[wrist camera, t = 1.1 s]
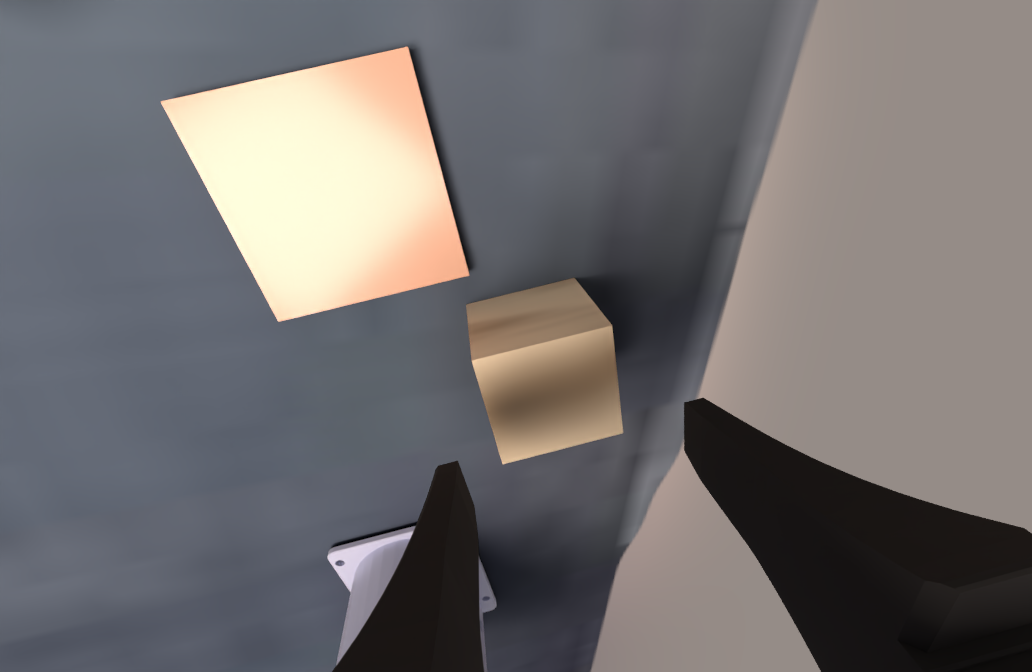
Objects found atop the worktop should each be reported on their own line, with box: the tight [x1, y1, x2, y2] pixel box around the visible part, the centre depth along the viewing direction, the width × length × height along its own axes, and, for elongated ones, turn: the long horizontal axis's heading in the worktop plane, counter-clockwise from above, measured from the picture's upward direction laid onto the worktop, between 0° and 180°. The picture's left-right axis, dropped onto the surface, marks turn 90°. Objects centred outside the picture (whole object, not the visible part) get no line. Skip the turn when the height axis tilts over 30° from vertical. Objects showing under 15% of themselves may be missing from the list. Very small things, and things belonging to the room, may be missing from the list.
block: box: [466, 278, 623, 464], centre depth 18 cm, size 5×5×5 cm
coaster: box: [161, 47, 469, 322], centre depth 16 cm, size 8×8×1 cm
